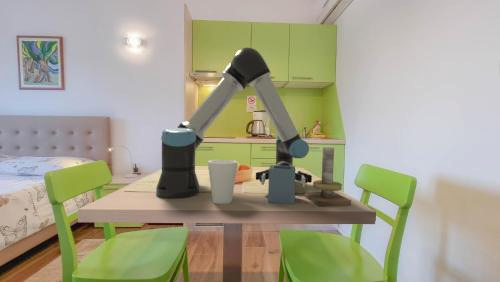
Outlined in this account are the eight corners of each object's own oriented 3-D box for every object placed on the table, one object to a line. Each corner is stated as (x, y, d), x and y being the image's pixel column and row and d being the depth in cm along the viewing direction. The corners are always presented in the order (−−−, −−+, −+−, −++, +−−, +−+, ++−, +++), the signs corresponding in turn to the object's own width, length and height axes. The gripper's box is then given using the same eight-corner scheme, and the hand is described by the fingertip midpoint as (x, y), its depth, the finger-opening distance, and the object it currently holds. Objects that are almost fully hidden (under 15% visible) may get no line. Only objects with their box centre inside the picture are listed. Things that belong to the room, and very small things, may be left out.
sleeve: (270, 195, 86) (270, 165, 85) (293, 197, 84) (294, 166, 84) (268, 202, 77) (268, 168, 77) (294, 204, 76) (295, 170, 75)
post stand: (304, 196, 85) (306, 146, 84) (332, 195, 87) (334, 146, 86) (319, 206, 74) (321, 148, 73) (351, 205, 76) (353, 149, 76)
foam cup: (231, 206, 72) (232, 164, 72) (203, 204, 74) (203, 162, 74) (239, 198, 82) (240, 160, 81) (213, 195, 83) (214, 159, 83)
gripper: (313, 181, 98) (321, 195, 77) (254, 178, 102) (245, 190, 81) (314, 163, 98) (322, 172, 77) (254, 161, 102) (246, 168, 81)
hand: (282, 181), depth 79 cm, fingers open, 13 cm apart
